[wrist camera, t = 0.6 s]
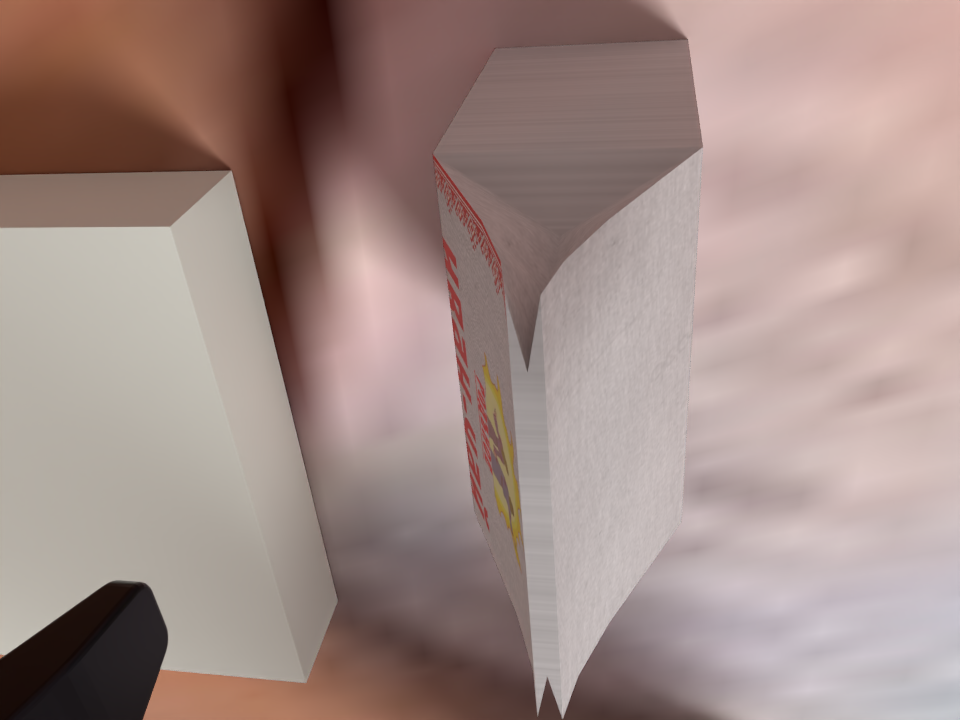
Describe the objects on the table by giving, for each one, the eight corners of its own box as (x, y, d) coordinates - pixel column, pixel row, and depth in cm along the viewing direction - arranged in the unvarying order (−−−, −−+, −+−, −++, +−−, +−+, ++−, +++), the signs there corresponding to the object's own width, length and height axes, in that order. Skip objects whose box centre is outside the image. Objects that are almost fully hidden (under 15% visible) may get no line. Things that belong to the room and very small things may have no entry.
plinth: (337, 600, 27) (306, 683, 24) (-55, 571, 29) (-120, 643, 27) (231, 170, 19) (170, 226, 17) (-284, 180, 22) (-403, 230, 19)
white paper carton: (688, 38, 16) (723, 296, 8) (674, 342, 20) (690, 731, 12) (495, 48, 17) (349, 294, 9) (516, 340, 21) (426, 706, 12)
